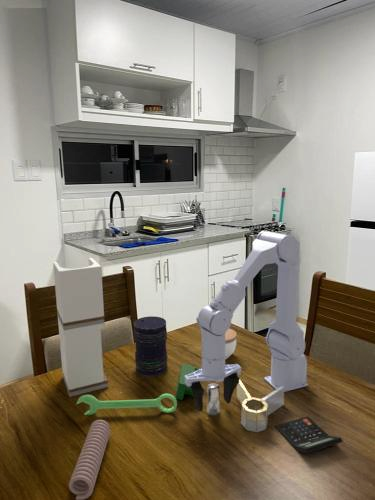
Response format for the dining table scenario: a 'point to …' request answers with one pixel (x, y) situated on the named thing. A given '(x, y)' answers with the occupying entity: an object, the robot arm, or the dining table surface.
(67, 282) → the grey boxy piece
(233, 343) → the lidded jar
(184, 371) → the clamp
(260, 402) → the tan ring with arms
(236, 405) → the dining table surface
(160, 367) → the storage jar
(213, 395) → the hinge pin
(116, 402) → the wrench
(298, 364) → the robot arm
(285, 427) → the calculator
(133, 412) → the dining table surface
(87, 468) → the coil
